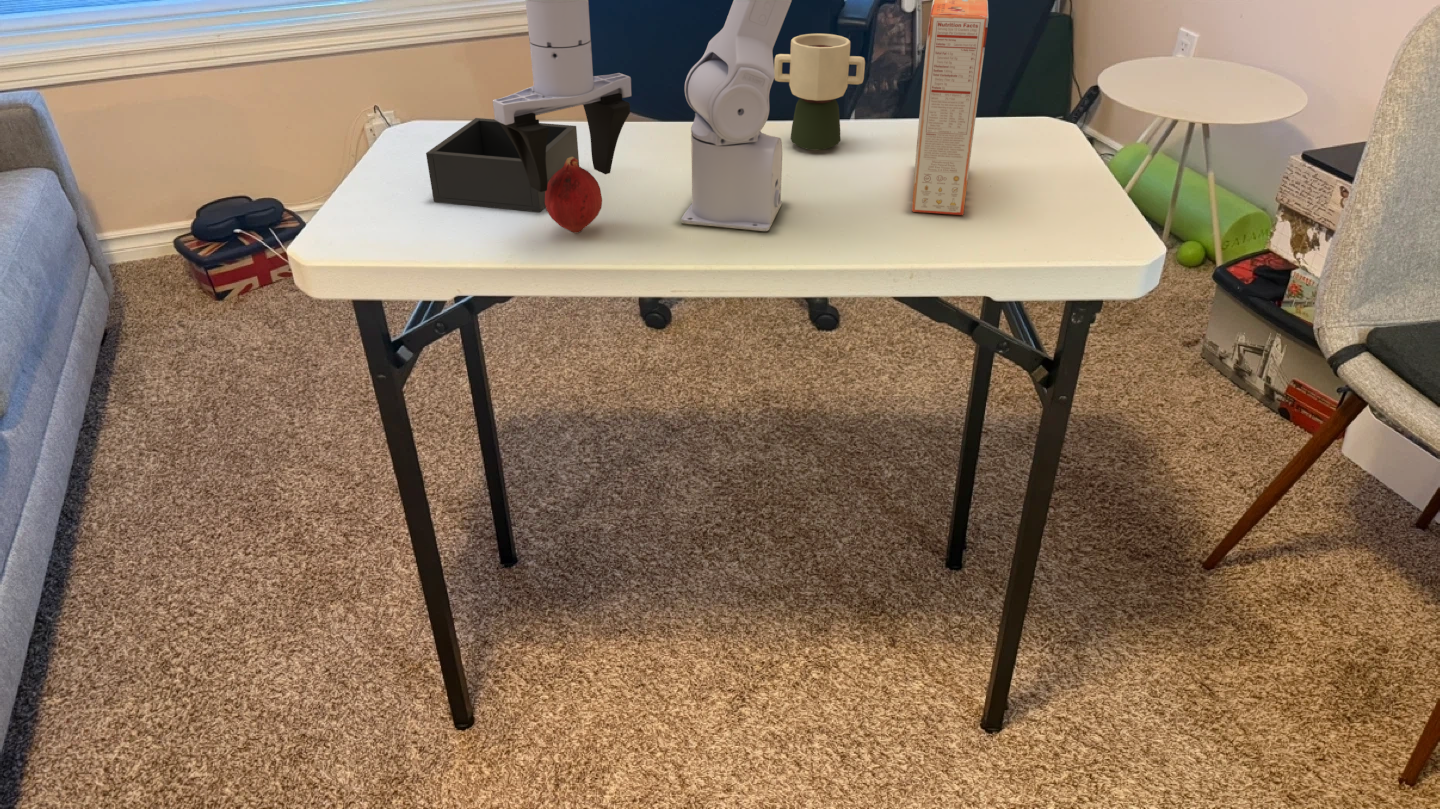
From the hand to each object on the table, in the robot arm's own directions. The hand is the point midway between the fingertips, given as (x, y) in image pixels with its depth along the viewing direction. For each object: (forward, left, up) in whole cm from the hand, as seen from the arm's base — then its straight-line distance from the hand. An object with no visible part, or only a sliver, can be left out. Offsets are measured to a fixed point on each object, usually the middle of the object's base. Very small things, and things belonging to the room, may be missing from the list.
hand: (571, 179), depth 102 cm
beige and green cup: (-20, -33, -6) cm, 39 cm away
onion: (0, 0, -6) cm, 6 cm away
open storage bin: (+12, -11, -6) cm, 17 cm away
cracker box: (-36, -21, -6) cm, 42 cm away
